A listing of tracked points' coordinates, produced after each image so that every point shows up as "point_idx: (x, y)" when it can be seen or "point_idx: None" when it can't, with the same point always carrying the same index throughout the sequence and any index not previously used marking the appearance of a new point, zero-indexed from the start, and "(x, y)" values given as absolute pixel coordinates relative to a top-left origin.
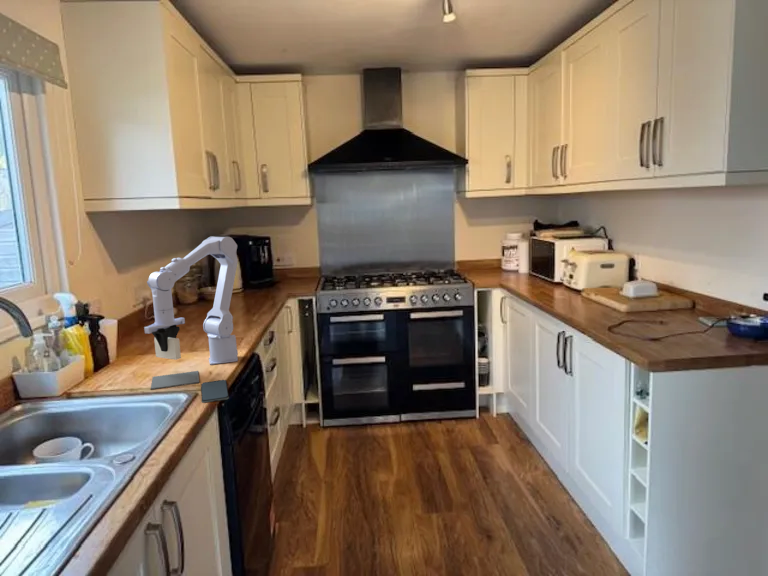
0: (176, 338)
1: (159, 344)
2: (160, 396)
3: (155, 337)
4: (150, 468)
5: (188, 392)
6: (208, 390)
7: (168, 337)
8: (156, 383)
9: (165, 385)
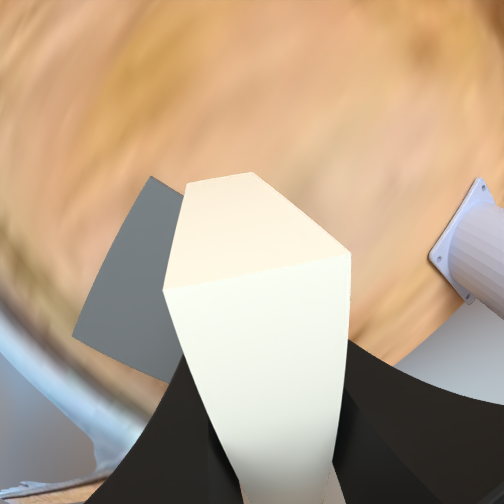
0: (315, 502)
1: (172, 389)
2: (85, 403)
3: (113, 480)
4: (42, 500)
5: None
6: None
7: (323, 457)
8: (110, 304)
9: (129, 356)
